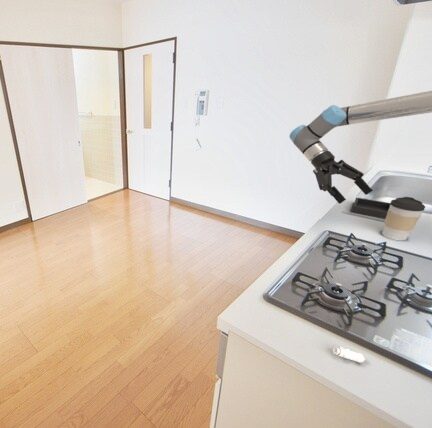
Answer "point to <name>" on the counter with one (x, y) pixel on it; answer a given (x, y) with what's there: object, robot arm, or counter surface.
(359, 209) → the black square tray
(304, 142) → the robot arm
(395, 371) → the counter surface
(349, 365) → the counter surface
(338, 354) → the small white plastic part
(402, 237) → the coffee cup
